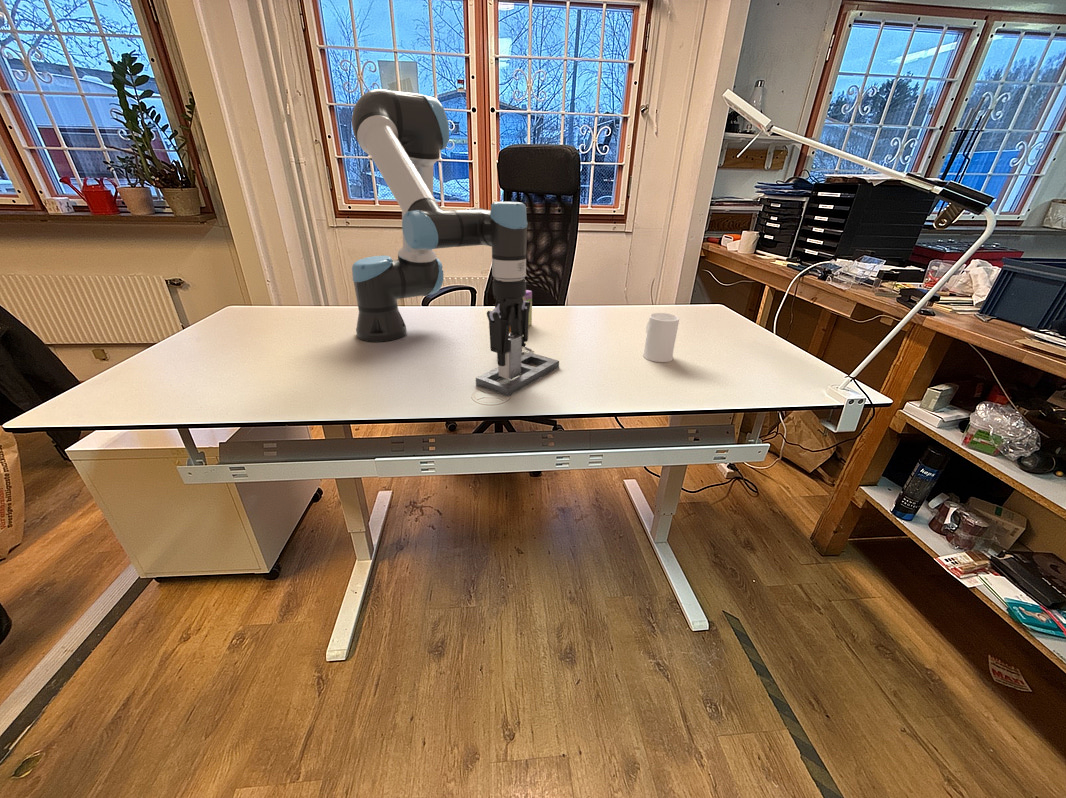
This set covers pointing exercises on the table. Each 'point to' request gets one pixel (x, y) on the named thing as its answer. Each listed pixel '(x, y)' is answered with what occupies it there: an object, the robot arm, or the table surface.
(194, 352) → the table surface
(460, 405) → the table surface
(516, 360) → the grey tall block
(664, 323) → the mug
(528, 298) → the box
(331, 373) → the table surface
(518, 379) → the grey flat frame
